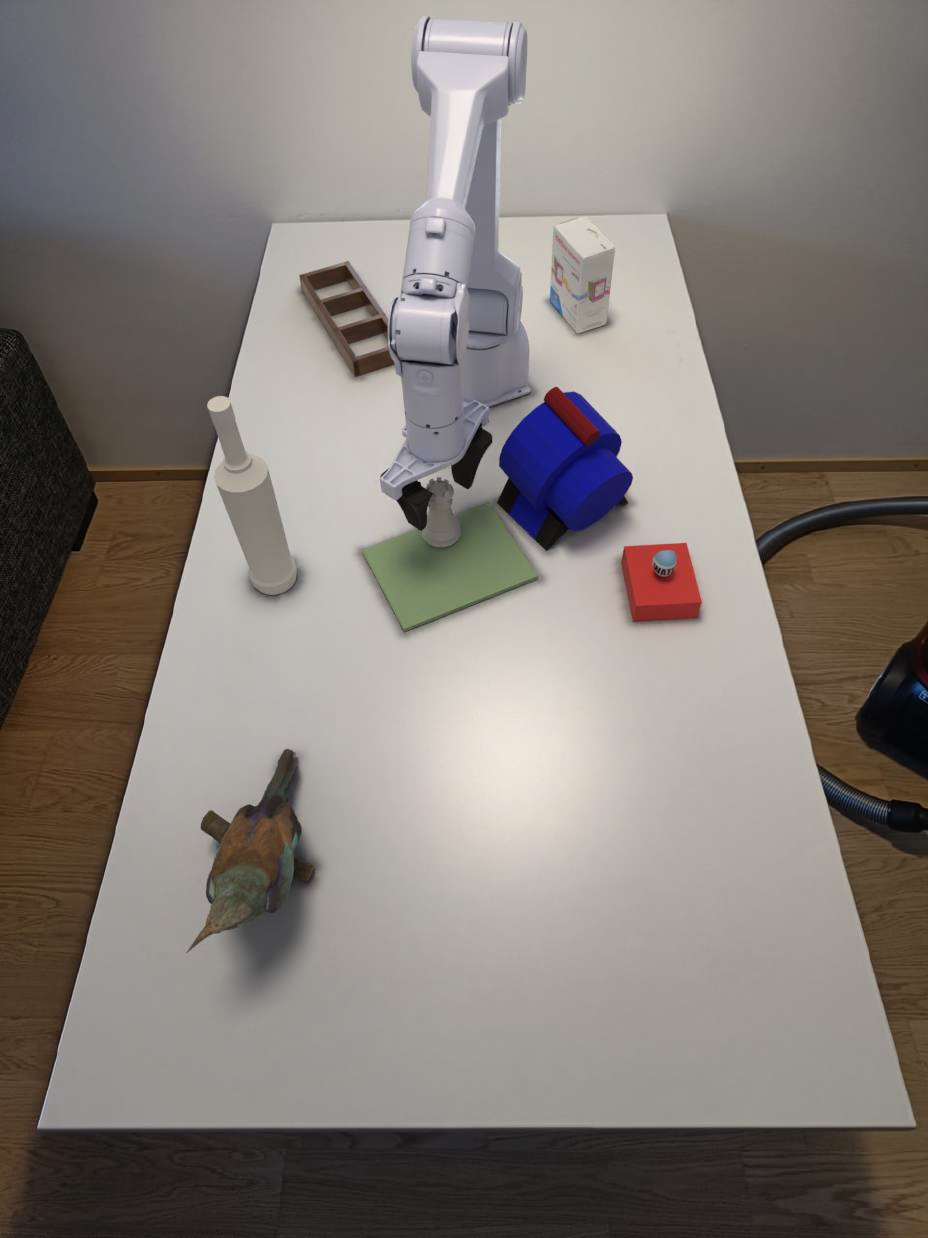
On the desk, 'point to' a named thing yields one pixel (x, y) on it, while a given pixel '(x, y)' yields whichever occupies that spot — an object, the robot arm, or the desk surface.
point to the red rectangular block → (660, 582)
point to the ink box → (581, 273)
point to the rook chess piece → (441, 515)
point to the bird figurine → (254, 856)
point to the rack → (346, 303)
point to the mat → (448, 569)
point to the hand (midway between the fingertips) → (440, 504)
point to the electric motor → (562, 468)
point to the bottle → (251, 505)
